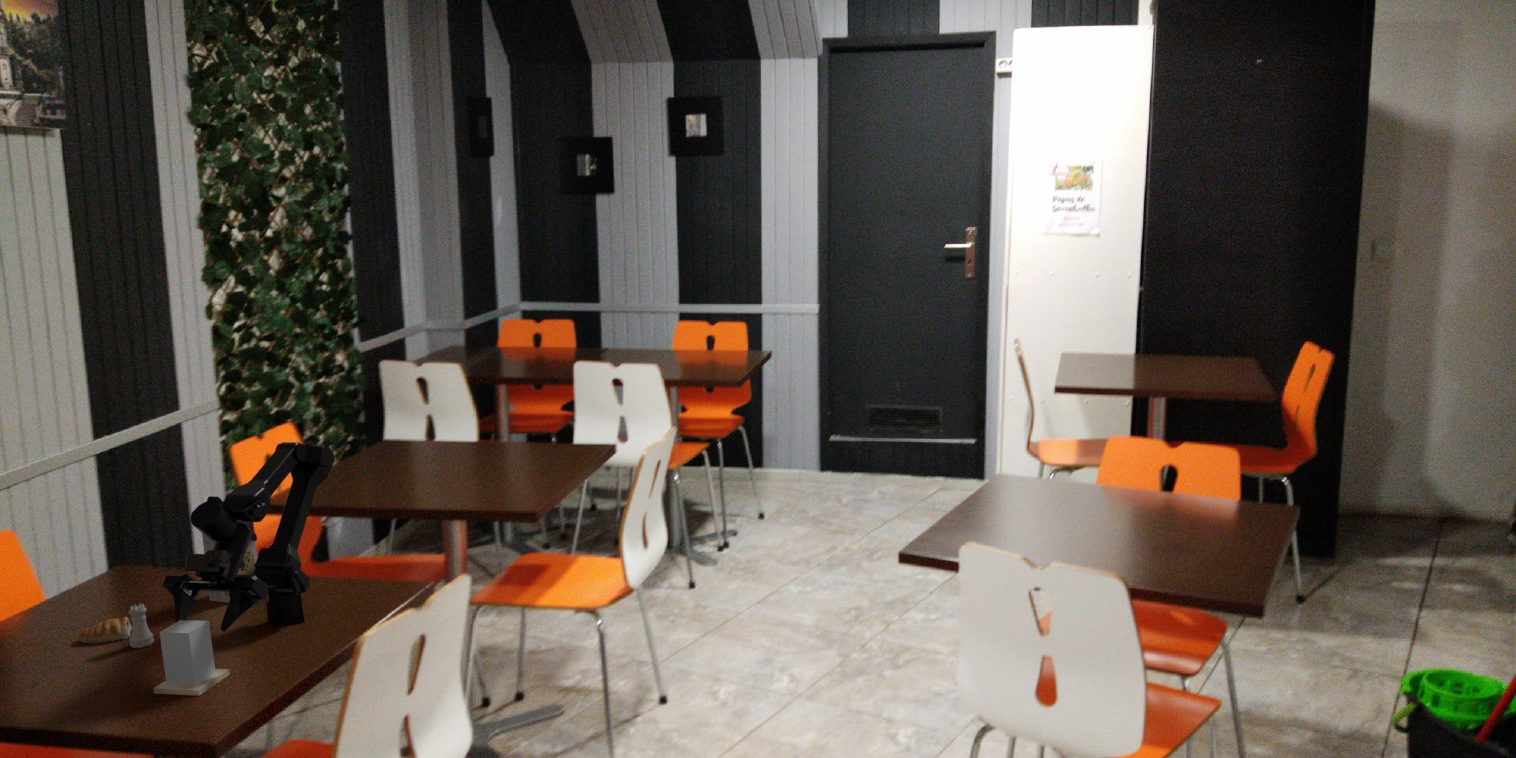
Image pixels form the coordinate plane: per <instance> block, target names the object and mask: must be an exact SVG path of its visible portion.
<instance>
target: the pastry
mask: <svg viewBox="0 0 1516 758" xmlns="http://www.w3.org/2000/svg"><path fill="white" fill-rule="evenodd" d="M130 621H131V620H130V619H129V618H128V616H124V617H122V618H112V619H107V620H104V621H103V622H100V621H99V622H98V623H97V624H95V625H92V626H91V627H87V628H85V629H83V630H82V631H81V632H80V633H79V634H78V635H77V637H78V639H79V641H80V642H81V643H83V644H86V643H88V644H104V643H108V642H107V641H111V642H116V641H115V640H118V641H121V640H120V639H123V640H126V638H127V639H128V638H129V637H131V632H132V625H131V622H130ZM128 636H129V637H128ZM103 642H104V643H103Z"/></svg>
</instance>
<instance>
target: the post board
mask: <svg viewBox="0 0 1516 758" xmlns="http://www.w3.org/2000/svg"><path fill="white" fill-rule="evenodd" d="M215 672H216V673H214V674H213V675H212V676H210V677H209V678H207V679H206V680H204V681H203V682H201V683H200V684H198V685H197V686H179V685H167V684H166V679H165V680H164V681H162V682H161V683H159V684H158V685H156V686H155V687H153V688H152V689H153V694H157V695H177V696H178V695H179V696H198V697H199V696H201V695H202V694H203V693H204V694H205V692H207V691H208V690H210V689H211V688H212V687H214V686H215V685H217V684H218V683H220V682H221V681H222V680H224V679H225V678H226V677H228V676H230V669H229V668H226V669H225V668H215ZM216 683H217V684H216Z"/></svg>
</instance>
